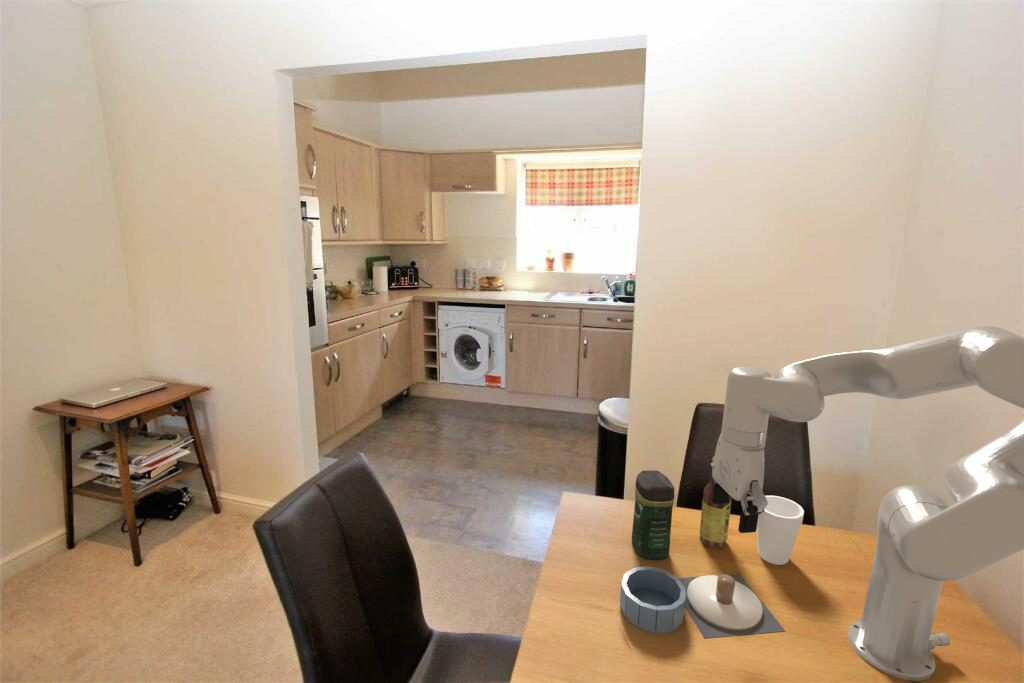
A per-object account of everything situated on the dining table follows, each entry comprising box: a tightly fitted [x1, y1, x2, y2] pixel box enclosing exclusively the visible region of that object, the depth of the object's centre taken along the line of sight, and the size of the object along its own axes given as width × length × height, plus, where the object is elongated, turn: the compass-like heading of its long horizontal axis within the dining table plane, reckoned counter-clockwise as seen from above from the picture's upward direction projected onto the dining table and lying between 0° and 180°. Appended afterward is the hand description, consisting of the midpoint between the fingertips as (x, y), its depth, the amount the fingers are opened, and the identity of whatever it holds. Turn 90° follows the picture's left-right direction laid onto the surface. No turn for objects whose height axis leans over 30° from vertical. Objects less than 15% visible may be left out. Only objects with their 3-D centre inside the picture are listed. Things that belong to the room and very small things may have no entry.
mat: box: [677, 573, 786, 639], centre depth 103 cm, size 16×16×1 cm
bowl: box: [619, 565, 686, 634], centre depth 101 cm, size 12×12×6 cm
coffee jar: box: [631, 469, 675, 561], centre depth 118 cm, size 10×8×19 cm
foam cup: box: [756, 495, 805, 566], centre depth 116 cm, size 10×9×13 cm
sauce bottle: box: [699, 462, 732, 549], centre depth 121 cm, size 6×6×20 cm
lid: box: [687, 573, 763, 630], centre depth 102 cm, size 14×14×6 cm
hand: (733, 516), depth 98 cm, fingers open, 9 cm apart
